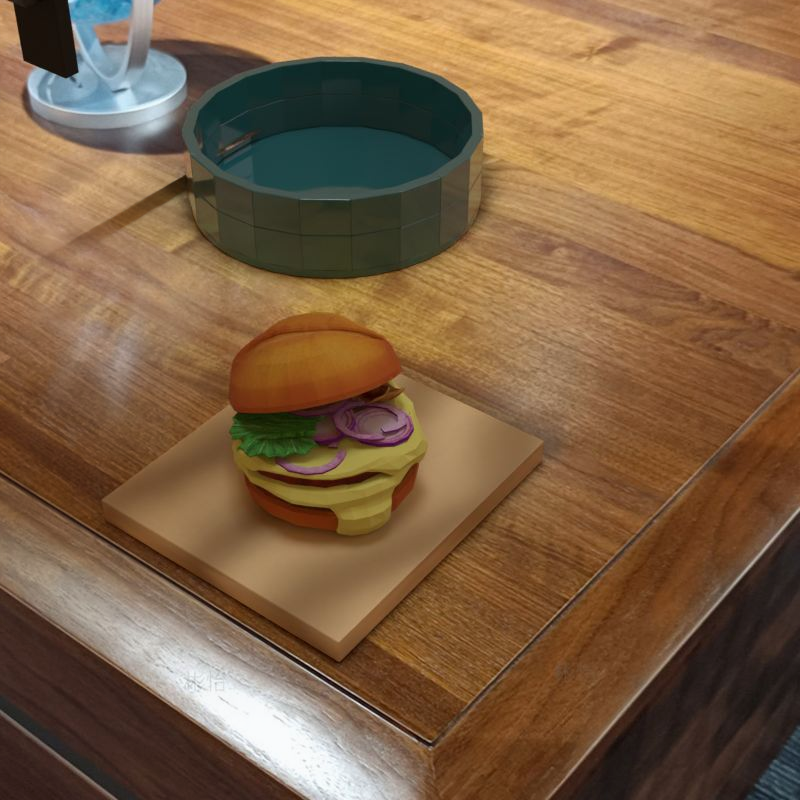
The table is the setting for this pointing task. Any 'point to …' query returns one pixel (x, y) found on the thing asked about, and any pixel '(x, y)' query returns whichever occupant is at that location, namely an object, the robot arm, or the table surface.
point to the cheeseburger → (324, 424)
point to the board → (319, 548)
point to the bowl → (334, 166)
